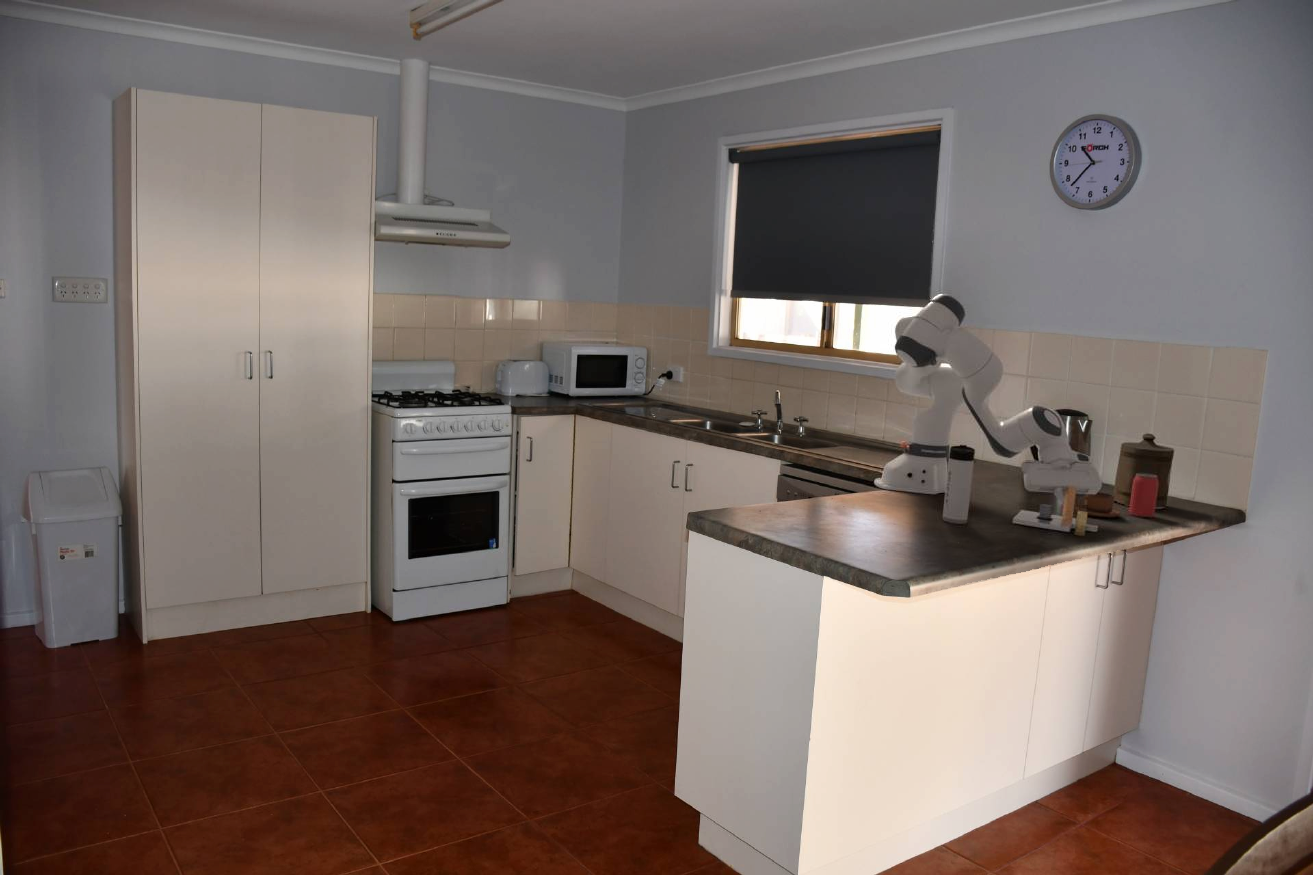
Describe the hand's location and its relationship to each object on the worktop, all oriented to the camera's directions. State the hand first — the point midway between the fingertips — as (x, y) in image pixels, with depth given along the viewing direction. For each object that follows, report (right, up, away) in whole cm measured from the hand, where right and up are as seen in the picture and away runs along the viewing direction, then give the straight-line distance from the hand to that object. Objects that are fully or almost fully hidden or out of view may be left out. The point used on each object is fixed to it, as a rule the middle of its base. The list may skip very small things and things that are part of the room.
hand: (1067, 504), depth 265 cm
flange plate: (-4, -5, -2) cm, 7 cm away
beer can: (+29, -5, +19) cm, 35 cm away
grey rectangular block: (-7, -5, -1) cm, 9 cm away
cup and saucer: (+15, -4, +16) cm, 23 cm away
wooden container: (+37, -3, +37) cm, 52 cm away
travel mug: (-32, -4, -5) cm, 33 cm away
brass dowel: (-2, -7, -11) cm, 13 cm away
